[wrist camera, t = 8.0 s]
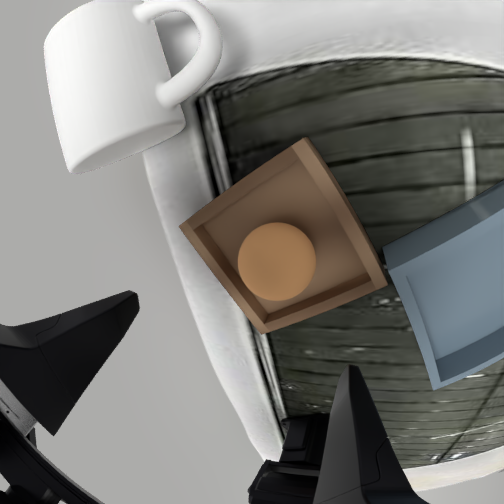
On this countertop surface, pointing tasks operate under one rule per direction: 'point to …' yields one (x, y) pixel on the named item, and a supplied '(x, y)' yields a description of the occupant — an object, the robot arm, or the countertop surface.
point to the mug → (121, 78)
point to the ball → (276, 261)
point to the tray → (302, 217)
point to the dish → (455, 286)
